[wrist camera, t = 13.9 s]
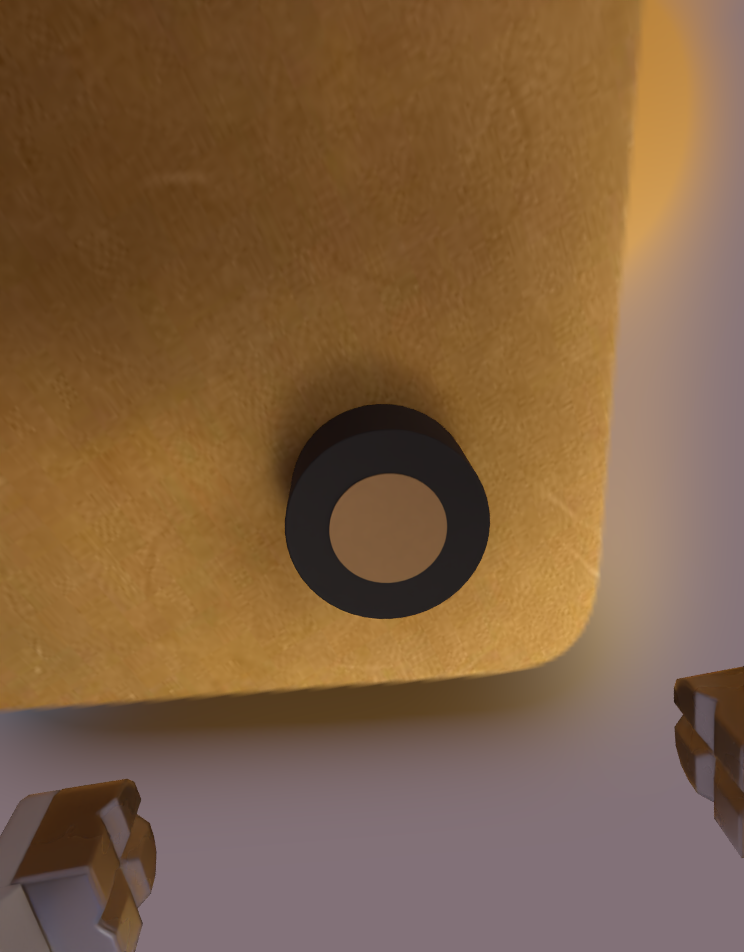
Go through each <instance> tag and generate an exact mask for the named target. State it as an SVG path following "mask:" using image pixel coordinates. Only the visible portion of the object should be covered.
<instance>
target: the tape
mask: <svg viewBox="0 0 744 952" xmlns="http://www.w3.org/2000/svg"><path fill="white" fill-rule="evenodd" d="M489 528H490V513H489V506H488V501H487V497H486V494H485V491H484V488H483V486H482V484H481V482H480V480H479V478H478V476H477V474H476V473H475V471H474V469H473V468H472V466H471V464H470V463H469V461H468V460H467V458H466V456H465V455H464V453H463V452H462V450H461V448H460V447H459V445H458V444H457V442H456V441H455V440H454V438H453V437H452V436H451V434H450V433H449V432H448V431H447V430H446V429H445V428H444V427H443V426H441V425H440V424H439V423H438V422H436V421H435V420H434V419H432V418H430V417H429V416H427V415H425V414H423V413H421V412H419V411H416V410H414V409H410V408H407V407H403V406H397V405H390V404H376V405H367V406H363V407H358V408H354V409H352V410H349V411H346V412H344V413H342V414H340V415H338V416H336V417H334V418H332V419H331V420H330V421H328V422H327V423H326V424H324V425H323V426H322V427H321V428H320V429H318V430H317V431H316V432H315V433H314V434H313V436H312V437H311V438H310V439H309V440H308V442H307V443H306V445H305V446H304V448H303V449H302V451H301V453H300V455H299V457H298V460H297V462H296V465H295V468H294V472H293V476H292V482H291V487H290V493H289V498H288V504H287V509H286V517H285V536H286V543H287V548H288V551H289V554H290V558H291V560H292V562H293V564H294V566H295V568H296V570H297V572H298V573H299V575H300V576H301V578H302V579H303V580H304V582H305V583H306V584H307V585H308V586H309V588H310V589H311V590H313V591H314V592H315V593H316V594H317V595H318V596H319V597H321V598H322V599H323V600H325V601H326V602H328V603H329V604H331V605H333V606H335V607H337V608H339V609H340V610H343V611H346V612H348V613H351V614H354V615H358V616H362V617H368V618H376V619H393V618H401V617H407V616H411V615H415V614H418V613H421V612H424V611H427V610H429V609H431V608H433V607H435V606H437V605H439V604H441V603H442V602H444V601H445V600H447V599H448V598H450V597H451V596H452V595H453V594H455V593H456V592H457V591H458V590H459V589H460V588H461V587H462V586H463V585H464V584H465V583H466V582H467V581H468V580H469V578H470V577H471V575H472V574H473V573H474V571H475V570H476V568H477V566H478V564H479V563H480V561H481V559H482V556H483V554H484V551H485V548H486V545H487V541H488V537H489Z"/></svg>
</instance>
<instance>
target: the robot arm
mask: <svg viewBox="0 0 744 952" xmlns="http://www.w3.org/2000/svg"><path fill="white" fill-rule="evenodd" d="M674 703H675V704H676V705H677V707H678V708H679V709H680V711H681V712H682V713H683V716H682V717H681V719H680V720H679V721H678V723H677V724H676V726H675V741H676V748H677V752H678V756H679V759H680V763H681V766H682V768H683V770H684V772H685V774H686V776H687V778H688V780H689V782H690V783H691V785H692V786H693V787H694V789H695V791H696V792H697V793H698V794H700V795H701V796H703V797H705V798H707V799H709V800H711V801H712V802H714V819H715V820H716V822H717V823H718V824H719V826H720V827H721V829H722V830H723V832H724V833H725V835H726V836H727V837H728V839H729V840H730V842H731V843H732V845H733V846H734V847H735V849H736V850H737V852H738V853H739V855H740V856H741V857H742V858H744V666H743V667H738V668H733V669H728V670H722V671H717V672H711V673H706V674H701V675H696V676H691V677H685V678H680V679H677V680H676V683H675V686H674ZM140 802H141V798H140V795H139V792H138V790H137V787H136V785H135V783H134V782H133V781H131V780H129V779H122V780H116V781H110V782H104V783H97V784H91V785H84V786H78V787H72V788H65V789H62V790H56V791H50V792H44V793H38V794H32V795H28V796H27V797H25V798H24V799H22V800H21V801H20V802H19V804H18V805H17V807H16V809H15V811H14V813H13V814H12V816H11V818H10V820H9V822H8V823H7V825H6V827H5V829H4V830H3V832H2V834H1V836H0V952H135V950H136V946H137V943H138V939H139V935H140V931H141V928H142V924H143V923H142V920H141V918H140V915H139V912H138V907H139V906H140V905H141V904H142V903H143V902H144V901H145V899H146V898H147V897H148V896H149V895H150V894H151V890H152V886H153V882H154V878H155V872H156V846H155V840H154V835H153V832H152V829H151V826H150V823H149V822H147V821H146V820H144V819H143V818H142V817H140V816H139V815H137V811H138V808H139V804H140Z"/></svg>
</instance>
